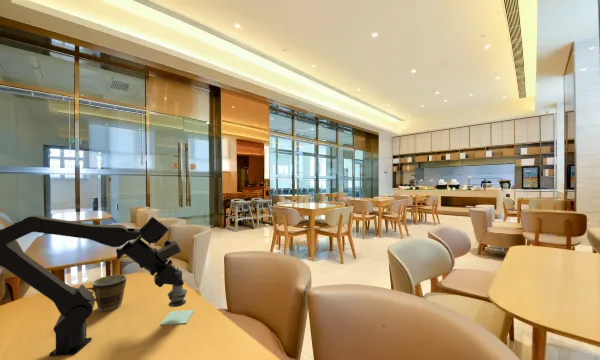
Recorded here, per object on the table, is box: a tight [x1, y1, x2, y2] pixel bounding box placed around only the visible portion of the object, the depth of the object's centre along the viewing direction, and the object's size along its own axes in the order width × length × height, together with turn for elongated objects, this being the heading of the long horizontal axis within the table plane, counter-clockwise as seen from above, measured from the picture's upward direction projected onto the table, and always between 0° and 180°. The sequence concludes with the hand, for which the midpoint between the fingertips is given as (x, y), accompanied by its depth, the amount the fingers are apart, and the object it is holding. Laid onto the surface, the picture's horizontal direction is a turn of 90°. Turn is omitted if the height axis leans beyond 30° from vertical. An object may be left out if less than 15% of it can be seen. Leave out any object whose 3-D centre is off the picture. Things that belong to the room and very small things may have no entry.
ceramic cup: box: [86, 274, 127, 312], centre depth 92 cm, size 13×10×10 cm
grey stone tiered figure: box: [167, 267, 188, 308], centre depth 85 cm, size 6×6×12 cm
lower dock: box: [160, 309, 195, 326], centre depth 85 cm, size 8×8×1 cm
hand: (181, 282), depth 86 cm, fingers closed on grey stone tiered figure, 4 cm apart
